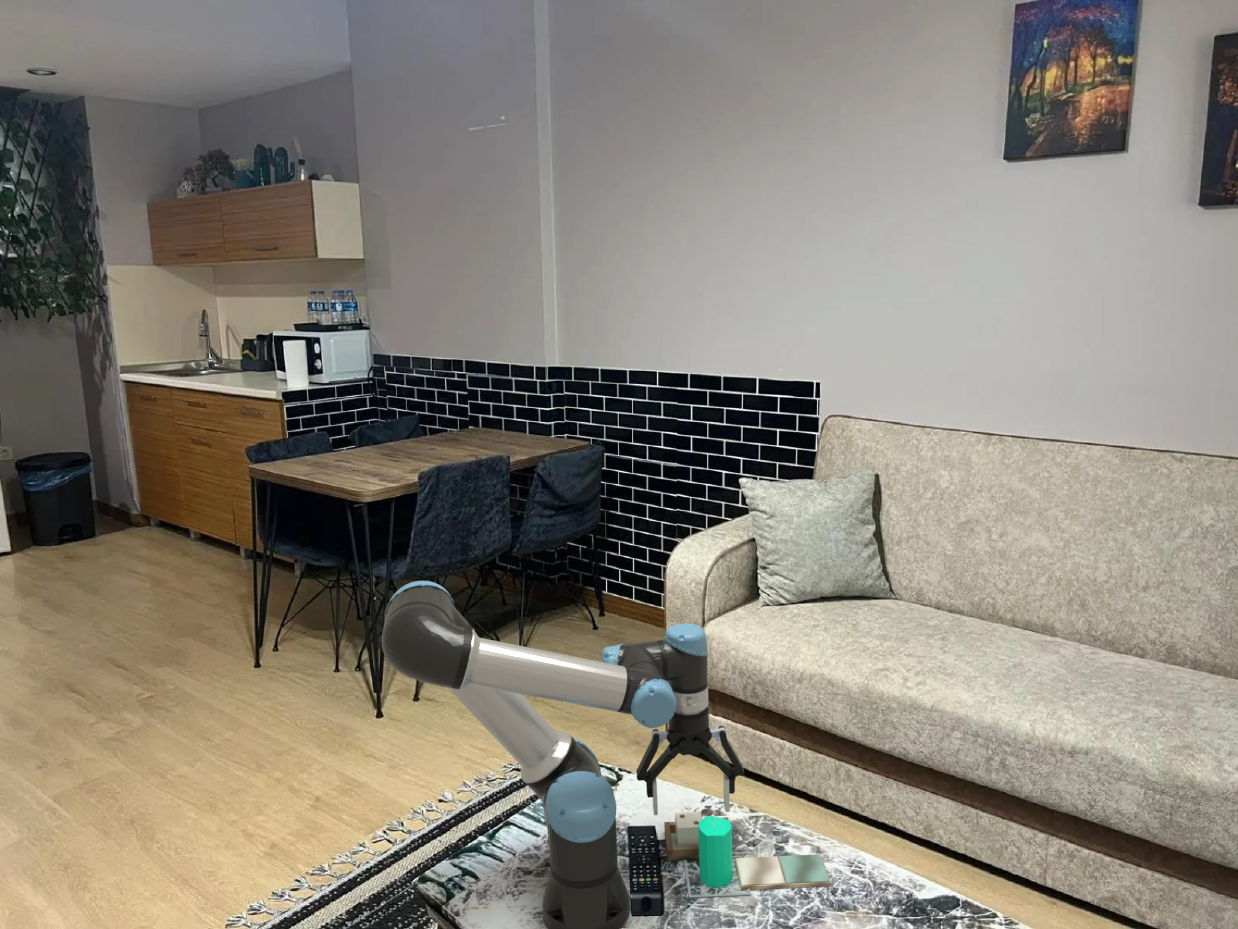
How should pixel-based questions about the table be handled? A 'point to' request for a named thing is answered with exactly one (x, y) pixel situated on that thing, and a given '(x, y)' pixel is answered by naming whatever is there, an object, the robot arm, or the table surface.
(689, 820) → the die
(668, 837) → the tray
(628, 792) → the table surface
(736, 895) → the pad
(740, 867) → the beige green flat slab
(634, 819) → the table surface
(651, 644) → the robot arm
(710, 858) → the candle
